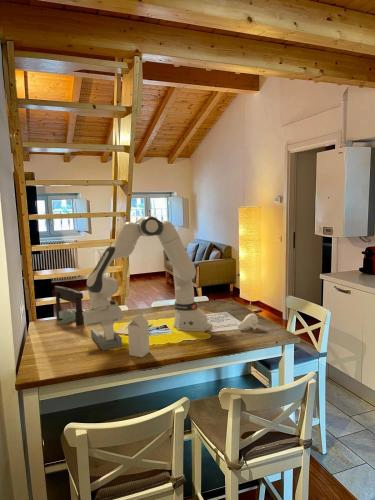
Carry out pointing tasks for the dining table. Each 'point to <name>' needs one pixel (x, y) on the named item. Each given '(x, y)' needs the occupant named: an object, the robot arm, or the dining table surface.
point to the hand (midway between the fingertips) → (107, 329)
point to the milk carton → (138, 336)
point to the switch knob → (108, 329)
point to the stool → (67, 314)
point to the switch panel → (109, 343)
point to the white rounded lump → (249, 322)
